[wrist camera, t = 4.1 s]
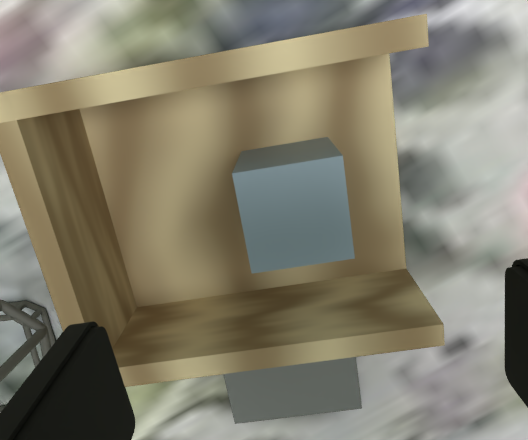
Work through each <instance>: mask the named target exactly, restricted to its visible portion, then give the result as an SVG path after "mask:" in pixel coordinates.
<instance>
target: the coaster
mask: <svg viewBox="0 0 528 440" xmlns="http://www.w3.org/2000/svg"><path fill="white" fill-rule="evenodd" d="M224 378H225V383H226V387H227V391H228V395H229V400H230V404H231V408H232V413H233V417H234V421H235V424H237V423H246V422H254V421H262V420H270V419H278V418H287V417H295V416H303V415H311V414H320V413H328V412H336V411H344V410H353V409H361V408H362V405H361V397H360V389H359V381H358V373H357V365H356V357H351V358H343V359H335V360H328V361H320V362H312V363H305V364H297V365H289V366H282V367H274V368H266V369H258V370H251V371H243V372H235V373H228V374H224Z"/></svg>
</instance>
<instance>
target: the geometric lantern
mask: <svg viewBox="0 0 528 440" xmlns="http://www.w3.org/2000/svg"><path fill="white" fill-rule="evenodd" d="M24 307H27V308H30V309H32V310H35V312H34V313H33V314H32V315H31V316H30V315H29V314H27V313H25V312H23V311H22V309H23V308H24ZM0 311H3V312H4V313H5V314H6V315H0V321H8V320H14V321H15V322H17V323H19V324H21V325H23V329H24V332H25V335H26V339H27V341H26V342H25V343H24V344H23V345H22V346H21V347H20V348H19V349H18V350H17V351H16V352H15V353H14V354H13V355H12V356H11V357H10V358H9V359H8V360H7V361H6V362H5V363H4V364H3V365H2V366H1V367H0V382H1V381H2V380H3V379H4V378H5V377H6V376H7V375H8V374H9V373H10V372H11V371H12V370H13V369H14V368H15V366H16V365H17V364H18V363H19V362H20V361H21V360H22V359H23V358H24V357H25V356H26V355H27V354H28V353H29V352H31V355H32V358H33V362H34V365H35V368H36V366H37V365H38V364H39V362H40V359H39V356H38V353H37V349H36V345H37V344H38V343H39V342H40V345H41V351H42V356H43V357H44V356H45V355H46V353H47V352H48V351H49V350H50V348H51V347H52V346H53V344H54V343H55V342H56V341H55V338H54V335H53V331H52V328H51V325H50V322H49V318H48V315H47V312H46V309H45V308H43V307H40V306H38V305H35V304H33V303H30V302H28V301H21V302H11V303H8V302H6V301H3V300H0ZM40 314H41V317H42V320H43V323H44V324H43V323H42V322H40V321H39V320H37V319H36V318H37V317H38V316H39V315H40ZM30 328H31V329H34V330H36V332H35V333H34V334H33V335H32V333H31V329H30ZM4 408H5V406H0V412H1V411H2V410H3V409H4Z"/></svg>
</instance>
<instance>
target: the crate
mask: <svg viewBox="0 0 528 440" xmlns="http://www.w3.org/2000/svg"><path fill="white" fill-rule="evenodd" d="M427 46H428V28H427V14H423V15H418V16H413V17H407V18H402V19H396V20H391V21H385V22H380V23H375V24H369V25H364V26H358V27H353V28H347V29H342V30H337V31H331V32H326V33H320V34H315V35H310V36H304V37H299V38H293V39H288V40H282V41H277V42H272V43H266V44H261V45H255V46H250V47H245V48H239V49H234V50H228V51H223V52H217V53H212V54H207V55H201V56H196V57H190V58H185V59H179V60H174V61H169V62H163V63H158V64H152V65H147V66H142V67H136V68H131V69H125V70H120V71H114V72H109V73H104V74H98V75H93V76H87V77H82V78H76V79H71V80H66V81H60V82H55V83H49V84H44V85H39V86H33V87H28V88H22V89H17V90H11V91H6V92H1V93H0V154H1V157H2V160H3V162H4V165H5V168H6V171H7V174H8V177H9V179H10V182H11V185H12V188H13V191H14V194H15V196H16V199H17V202H18V205H19V208H20V211H21V213H22V216H23V219H24V222H25V225H26V228H27V230H28V233H29V236H30V239H31V242H32V245H33V247H34V250H35V253H36V256H37V259H38V262H39V264H40V267H41V270H42V273H43V276H44V278H45V281H46V284H47V287H48V290H49V293H50V295H51V298H52V301H53V304H54V307H55V310H56V312H57V315H58V318H59V321H60V324H61V327H62V329H63V332H64V330H65V329H66V328H67V327H68V326H69V325H72V324H79V323H86V322H93V321H94V322H96V323H97V324H98V326H99V327H100V326H103V327H104V328H105V329H106V331H107V334H108V337H109V340H110V343H111V346H112V349H113V352H114V355H115V358H116V361H117V364H118V367H119V370H120V373H121V376H122V380H123V383H124V386H125V387H128V386H135V385H143V384H151V383H159V382H166V381H174V380H182V379H189V378H197V377H205V376H212V375H220V374H228V373H235V372H243V371H251V370H258V369H266V368H274V367H282V366H289V365H297V364H305V363H312V362H320V361H328V360H335V359H343V358H351V357H358V356H366V355H374V354H381V353H389V352H397V351H405V350H412V349H420V348H428V347H435V346H443V345H444V326H443V323H442V321H441V320H440V318H439V317H438V315H437V314H436V312H435V311H434V309H433V308H432V306H431V305H430V303H429V302H428V300H427V299H426V297H425V296H424V294H423V293H422V291H421V290H420V288H419V287H418V285H417V284H416V282H415V281H414V279H413V278H412V276H411V275H410V273H409V272H408V270H407V269H406V259H405V246H404V234H403V221H402V208H401V196H400V183H399V171H398V158H397V145H396V133H395V120H394V108H393V95H392V82H391V70H390V57H389V53H394V52H399V51H405V50H410V49H416V48H422V47H427ZM324 137H328V138H329V139H330V140H331V142H332V143H333V144H334V145H335V146H336V148H337V149H338V150H339V151H340V153H341V154H342V155H343V161H344V170H345V178H346V187H347V196H348V204H349V213H350V221H351V230H352V238H353V247H354V255H355V259H348V260H341V261H334V262H328V263H321V264H314V265H307V266H300V267H293V268H287V269H280V270H273V271H266V272H259V273H251V268H250V263H249V258H248V253H247V248H246V242H245V237H244V232H243V227H242V222H241V217H240V212H239V207H238V202H237V197H236V191H235V186H234V181H233V176H232V172H233V170H234V168H235V165H236V163H237V161H238V158H239V156H240V153H241V151H246V150H252V149H258V148H264V147H270V146H276V145H282V144H288V143H294V142H300V141H306V140H312V139H318V138H324Z"/></svg>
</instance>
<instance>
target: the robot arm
mask: <svg viewBox="0 0 528 440" xmlns="http://www.w3.org/2000/svg"><path fill="white" fill-rule="evenodd" d="M505 372H506V376H507V379H508V381H509V383H510V384H511V386H512V387H513V388H514V390H515V391H516V392H517V394H518V395H519V396H520V398H521V399H522V400H523V402H524V403H525V404H526V406H527V407H528V258H527V259H520V260H515V261H514V262H513V265H512V267H510V268H507V269H506V272H505ZM134 429H135V417H134V413H133V410H132V407H131V404H130V401H129V398H128V395H127V392H126V389H125V386H124V383H123V380H122V376H121V373H120V370H119V367H118V364H117V361H116V358H115V355H114V352H113V349H112V346H111V343H110V340H109V337H108V334H107V331H106V329H105V328H104V327H103V326H100V327H99V326H98V324H97V323H96V322H94V321H93V322H86V323H79V324H72V325H69V326H68V327H67V328H66V329H65V330H64V332H63V333H62V334H61V335H60V337H59V338H58V339H57V341H56V342H55V343H54V344H53V346H52V347H51V348H50V350H49V351H48V352H47V353H46V355H45V356H44V357H43V359H42V360H41V361H40V362H39V364H38V365H37V366H36V368H35V369H34V370H33V371H32V373H31V374H30V375H29V377H28V378H27V379H26V380H25V382H24V383H23V384H22V386H21V387H20V388H19V389H18V391H17V392H16V393H15V395H14V396H13V397H12V399H11V400H10V401H9V402H8V404H7V405H6V406H5V408H4V409H3V410H2V411H1V413H0V440H131V439H132V436H133V433H134Z"/></svg>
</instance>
